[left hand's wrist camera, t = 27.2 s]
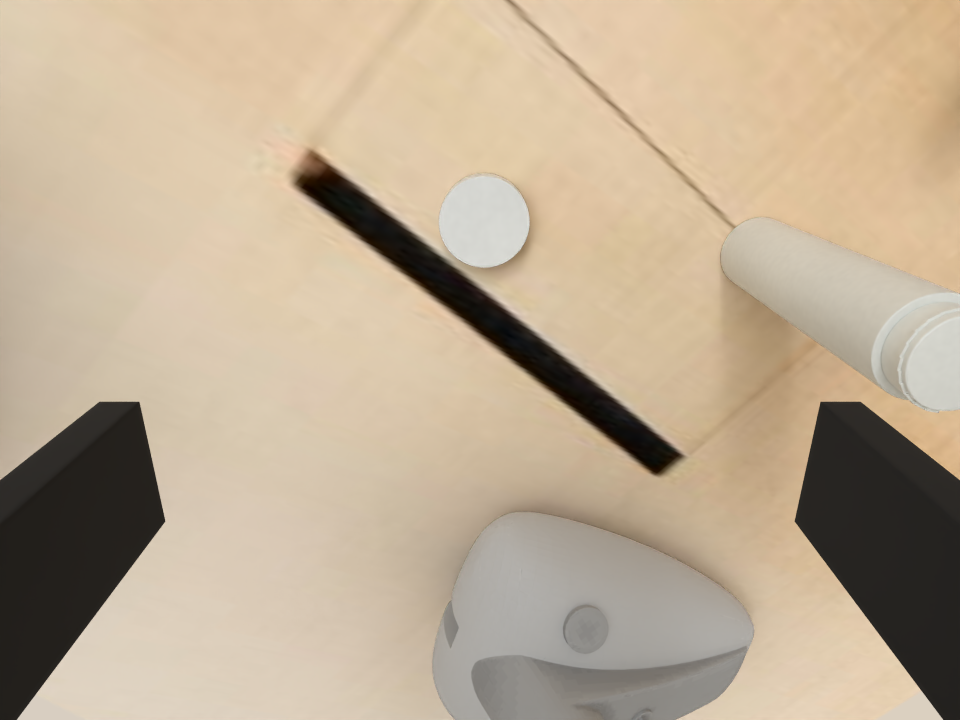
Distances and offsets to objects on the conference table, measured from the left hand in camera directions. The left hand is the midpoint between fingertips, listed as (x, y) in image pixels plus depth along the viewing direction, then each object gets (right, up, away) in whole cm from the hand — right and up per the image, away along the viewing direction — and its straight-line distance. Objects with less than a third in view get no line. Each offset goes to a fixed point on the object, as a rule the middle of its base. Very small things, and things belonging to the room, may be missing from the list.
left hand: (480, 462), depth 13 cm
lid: (0, +10, +26) cm, 28 cm away
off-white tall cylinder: (+17, +9, +28) cm, 34 cm away
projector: (+9, -16, +38) cm, 42 cm away
